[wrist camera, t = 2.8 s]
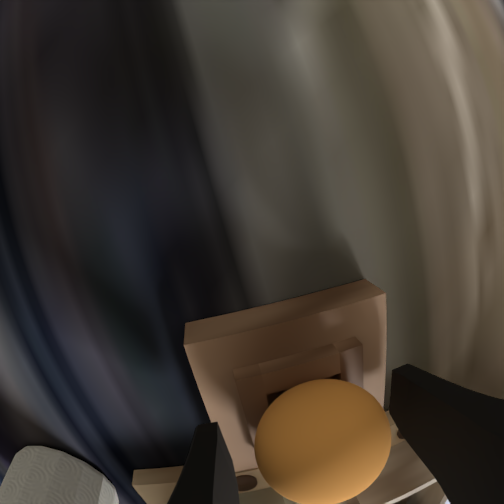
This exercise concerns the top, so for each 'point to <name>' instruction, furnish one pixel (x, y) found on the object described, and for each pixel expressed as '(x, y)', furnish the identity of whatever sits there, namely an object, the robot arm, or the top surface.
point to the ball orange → (322, 442)
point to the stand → (285, 355)
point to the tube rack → (268, 500)
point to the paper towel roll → (54, 480)
